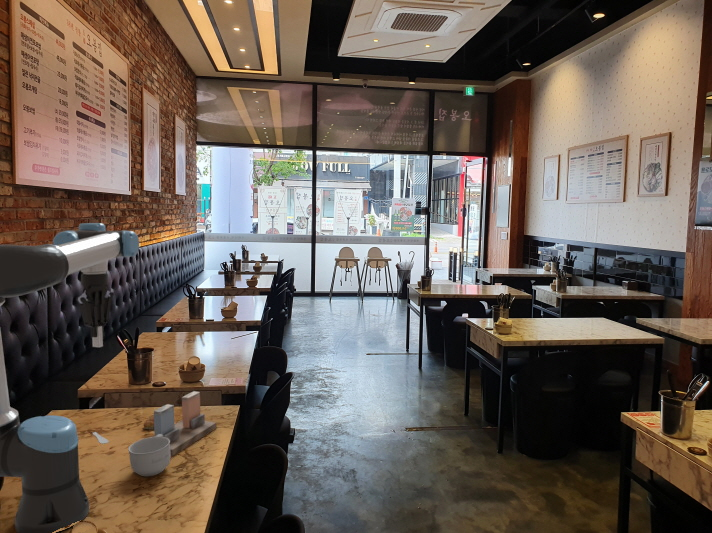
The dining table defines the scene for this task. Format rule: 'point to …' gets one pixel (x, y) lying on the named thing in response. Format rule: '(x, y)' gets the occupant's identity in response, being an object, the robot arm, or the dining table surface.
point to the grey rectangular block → (164, 420)
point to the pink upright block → (190, 407)
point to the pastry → (149, 423)
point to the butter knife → (100, 438)
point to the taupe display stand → (188, 433)
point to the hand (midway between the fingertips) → (97, 346)
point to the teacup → (150, 455)
